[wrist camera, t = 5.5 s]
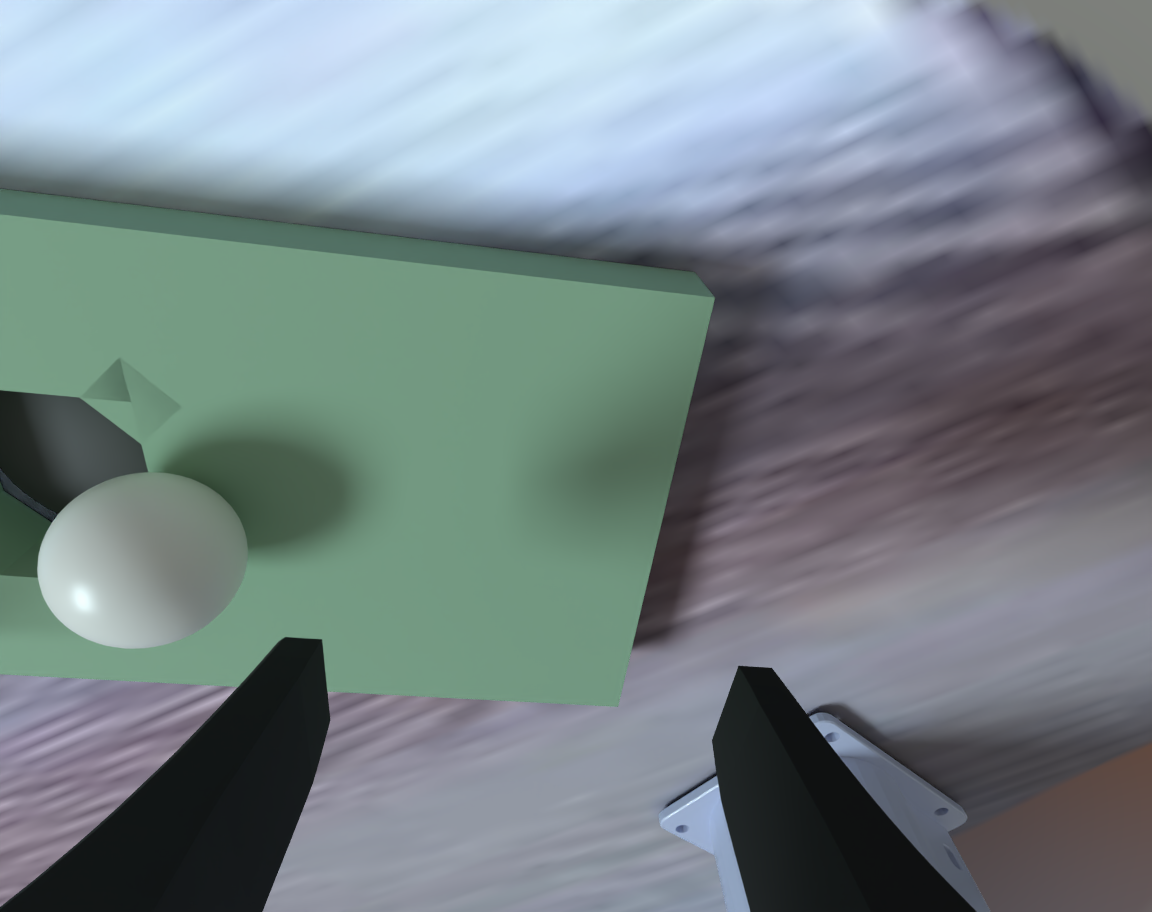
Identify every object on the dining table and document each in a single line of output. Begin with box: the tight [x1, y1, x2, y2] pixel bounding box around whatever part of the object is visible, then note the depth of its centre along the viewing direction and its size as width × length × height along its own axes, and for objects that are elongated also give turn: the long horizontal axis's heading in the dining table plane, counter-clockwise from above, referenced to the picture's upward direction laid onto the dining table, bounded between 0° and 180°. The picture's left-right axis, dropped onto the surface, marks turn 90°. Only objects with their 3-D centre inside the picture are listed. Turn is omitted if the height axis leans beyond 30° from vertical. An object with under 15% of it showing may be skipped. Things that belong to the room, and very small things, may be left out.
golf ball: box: [37, 472, 248, 649], centre depth 13 cm, size 4×4×4 cm
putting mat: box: [0, 189, 715, 707], centre depth 12 cm, size 22×12×9 cm, turn 83°
